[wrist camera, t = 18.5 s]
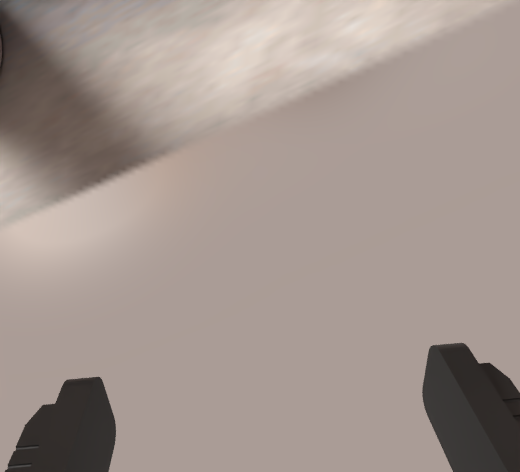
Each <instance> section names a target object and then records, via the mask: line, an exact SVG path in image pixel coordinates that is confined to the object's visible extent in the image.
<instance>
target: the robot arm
mask: <svg viewBox="0 0 520 472" xmlns="http://www.w3.org/2000/svg"><path fill="white" fill-rule="evenodd" d="M1 59H2V41H1V36H0V65H1ZM422 393H423V402H424V406H425V410H426V413H427V415H428V417H429V420H430V422H431V424H432V426H433V428H434V431H435V433H436V435H437V437H438V439H439V442H440V444H441V446H442V448H443V450H444V453H445V455H446V457H447V459H448V461H449V464H450V466H451V468H452V470H453V472H520V393H519V391H518V390H517V388H516V387H515V386H514V384H513V383H512V381H511V380H510V378H508V377H507V376H506V375H504V374H503V373H502V372H501V371H499V370H498V369H497V368H495V367H494V366H493V365H492V364H490V363H482V364H479V363H478V362H477V360H476V359H475V357H474V356H473V354H472V352H471V351H470V349H469V348H468V347H467V346H466V345H465V344H464V343H455V344H444V345H433V346H431V347H430V349H429V353H428V359H427V366H426V371H425V378H424V383H423V392H422ZM115 437H116V426H115V419H114V415H113V413H112V409H111V406H110V403H109V400H108V397H107V394H106V391H105V387H104V384H103V382H102V379H101V378H100V377H92V378H81V379H70V380H66V381H65V382H64V384H63V386H62V388H61V391H60V393H59V396H58V398H57V401H56V403H55V404H50V405H43V406H42V407H41V408H40V409H39V410H38V411H37V412H36V414H35V415H34V416H33V417H32V418H31V419H30V420H29V422H28V423H27V424H26V425H25V427H24V430H23V432H22V434H21V437H20V439H19V441H18V443H17V446H16V451H14V452H13V455H12V457H11V459H10V461H9V464H8V469H7V470H5V472H108V471H109V467H110V462H111V458H112V454H113V450H114V445H115Z"/></svg>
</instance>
